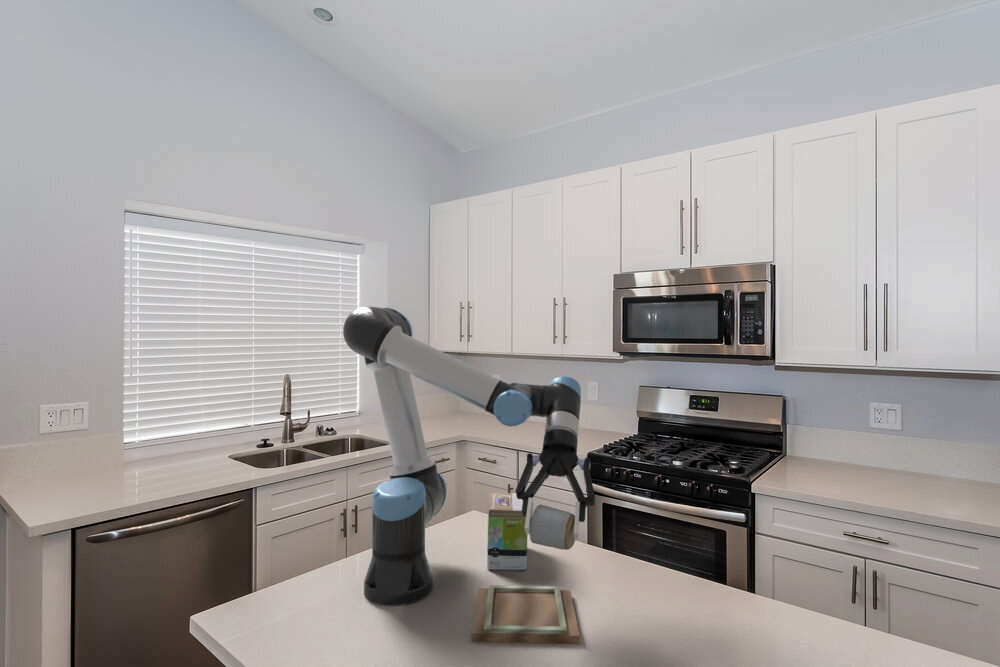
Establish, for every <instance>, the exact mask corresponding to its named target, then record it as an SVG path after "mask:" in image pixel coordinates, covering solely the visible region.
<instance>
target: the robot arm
mask: <svg viewBox="0 0 1000 667" xmlns="http://www.w3.org/2000/svg"><path fill="white" fill-rule="evenodd" d="M343 324H344V325H343V330H342V331H343V332H342V333H343V339H344V341H345V344H346V345H347V346H348V347H349V348H350V350H351V351H352V352H354V353H356V354H358V355H360V356H362V357H364V361H365V367H367V368H368V369H371V370H372V372H373V373H374V379H375V384H376V388H377V393H378V398H379V402H380V407H381V411H382V416H383V421H384V425H385V426H384V427H385V430H386V435H387V439H388V444H389V449H390V453H391V457H392V461H393V466H392V468H391V470H390V472H388V474H389V478H390V480H385V481H383V482H381V483H379V484H378V485H377V486H376V487H375V489H374V490H373V494H372V500H371V517H372V518H371V520H372V521H371V522H372V523H371V532H372V533H371V535H372V536H371V537H372V538H371V541H372V542H371V544H372V547H371V549H372V550H371V554H372V556H371V559H370V563H369V566H368V569H367V572H366V576H365V578H364V580H363V581H364V583H363V594H364V597H366V599H367V600H369V601H370V602H372V603H374V604H377V605H378V604H379V605H384V606H385V605H386V606H400V605H401V606H402V605H407V604H411V603H415V602H418V601H420V600H423V599H424V598H425V597H427V596H428V595H430V593H431V592H432V591H433V588H434V587H433V586H434V577H433V573H432V570H431V567H430V564H429V560H428V557H427V554H426V526H427V525H428V524H429V522H430V521H431V520H432V519H433V518H434V517H435V516H436V515H437V514H438V513H440V512H441V509H442V508H443V506H444V504H445V502H446V499H447V493H448V491H447V490H448V489H447V484H446V481H445V479H444V477H443V475H442V474H441V473H439V472H438V468H437V464H436V463H437V462H436V461H435V460H434V459H432V458H431V457H430V456H429V455H428V450H427V448H426V443H425V439H424V438H425V437H424V433H423V429H422V423H421V419H420V418H421V417H420V414H419V409H418V405H417V401H416V396H415V393H414V392H415V391H414V386H413V383H412V378H411V376H414V377H415V378H419V380H422V381H424V382H426V383H428V384H430V385H432V386H434V387H436V388H438V389H440V390H442V391H445V392H446V393H447V394H450V395H453V397H456V398H458V399H460V400H463V401H464V402H466V403H469V404H470V405H472V406H475V407H476V408H478V409H480V410H483V411H485V412H487V413H488V414H490V415H492V416H494V417H495V418H496V420H497V421H498V422H499V423H500V424H502V425H503V426H506V427H518V426H520V425H522V424H524V423H526V421H527V420H528V419H529V418H530V417H539V418H546V419H545V425H544V426H545V427H544V436H543V442H542V444H543V445H542V450H541V451H540V454H539V455H538V454H537V455H533V453H530V452H529V453H527V454H526V464H525V466H524V468H523V471H522V474H521V476H520V479H519V481H518V483H517V486H516V488H515V493H516V496H517V499H522V500H523V505H522V514H523V516H526V521H525V532H526V534H527V535H530V524H531V519H532V516H533V512H534V510H533V509H534V497H535V496H536V494H537V492H538V491H539V489H540V488H541V486H542V485H543V484H544V482H545V481H546V480H547V479H548V478H549V477H550V476H554V477H555V476H558V477H566V479H567V481H568V482H569V485H570V487H571V489H572V492H573V493H574V496H575V498H576V500H577V501H575V512H574V513H575V514H574V515H575V524H574V539H575V540H579V531H580V523H585V521H586V509H587V507H588V506H591V507H593V506H595V505H596V495H595V490H594V486H593V481H592V476H591V459H590V458H589V457H585V458H584V459H583V458H579V457H578V454H577V453H578V452H577V451H578V438H579V429H580V428H579V427H580V426H579V424H580V412H581V403H582V402H581V400H582V399H581V398H582V395H581V394H582V393H581V392H582V391H581V390H582V389H581V385H580V383H579V382H578V380H576V379H575V378H573V377H570V376H566V375H565V376H563V375H562V376H559V377H555V378H554V379H552V380H551V381H550V384H548V385H547V384H546V385H540V384H530V383H529V384H527V383H517V382H505V381H502V380H501V379H499V378H497V377H495V376H493V375H492V374H491V375H490V374H488V373H487V372H484V371H482V370H480V369H479V368H476V367H474V366H473V365H470V364H468V363H466V362H464V361H463V360H460V359H458V358H455V357H453V356H451V355H450V354H447V353H445V352H444V351H441V350H440V349H437V348H436V347H432V346H431V345H429V344H427V343H425V342H423V341H421V340H419V339H416V338H414V337H413V327H412V325H411V322H410V320H409V319H408V317H407V316H405V315H404V313H402V312H401V311H398V310H396V309H394V308H390V307H377V306H369V305H367V306H361V307H358V308H356V309H355V310H353V311H352V312H350V314H349V315H347V317H346V319H345V322H344V323H343ZM538 463H540V465H541V467H540V469H539V471H538V473H537V475H536V476H535V478H534V479H533V480H532V482H531V483H530V484H529V481H530V478H531V476H532V474H533V471H534V467H536V466H537V464H538ZM577 466H579V467H580V470H582V471H583V478H584V483H585V489H586V494H587V496H585V494H584V493H583V490H582V488H581V486H580V483H579V481H578V480H577V479H578V478H577V477H576V475H575V473H574V469H576V467H577ZM528 484H529V486H528ZM527 486H528V487H527ZM526 488H527V489H526Z"/></svg>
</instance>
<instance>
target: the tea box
mask: <svg viewBox="0 0 1000 667" xmlns="http://www.w3.org/2000/svg"><path fill="white" fill-rule="evenodd" d="M488 501H489V504H488V512H487V513H488V514H487V549H486V550H487V551H486V552H487V556H486V558H487V559H486V560H487V562H486V563H487V564H486V566H487V567H486V569H487V570H493V571H494V570H496V571H497V570H499V571H526V570H527V568H528V567H527V566H528V565H527V564H528V534H526V532H525V521H526V516H523V514H522V505H523V500H522V499H517V496H516V492H515V493H513V492H512V493H511V492H510V493H508V492H502V493H501V492H490V493H489V500H488Z"/></svg>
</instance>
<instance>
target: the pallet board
mask: <svg viewBox="0 0 1000 667" xmlns="http://www.w3.org/2000/svg"><path fill="white" fill-rule="evenodd" d="M471 628H472V629H471V639H470V640H471V642H472V643H476V642H477V643H481V642H482V643H483V642H484V643H521V644H522V643H523V644H524V643H525V644H526V643H528V644H563V645H564V644H571V645H573V644H574V645H580V640H581V639H580V638H581V637H580V631H579V627H578V622H577V616H576V611H575V608H574V603H573V598H572V593H571V589H561V587H560V586H558V585H557V586H556V585H555V586H554V585H553V586H552V585H551V586H549V585H548V586H547V585H544V586H543V585H502V584H501V585H500V584H499V585H497V584H490V585H488V587H479V588H478V589H477V596H476V602H475V608H474V615H473V621H472V627H471Z"/></svg>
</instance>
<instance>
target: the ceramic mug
mask: <svg viewBox="0 0 1000 667" xmlns="http://www.w3.org/2000/svg"><path fill="white" fill-rule="evenodd" d="M574 524H575V514H573V513H572V512H570V511H567V510H562V509H558V508H555V507H552V506H547V505H545V504H538V505H537V506H536V507H535V509H534V510H533V512H532V519H531V524H530V534H529V539H530V541H531V543H532V544H535V545H540V546H544V547H548V548H555V549H558V550H562V551H563V550H566V551H567V550H571V549H572V548H573V546H574V545H575V542H576V539H574Z"/></svg>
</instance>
